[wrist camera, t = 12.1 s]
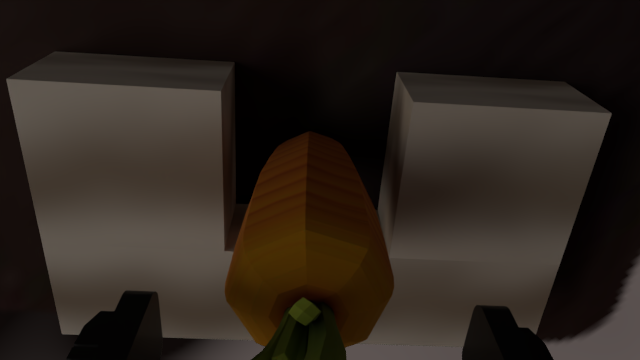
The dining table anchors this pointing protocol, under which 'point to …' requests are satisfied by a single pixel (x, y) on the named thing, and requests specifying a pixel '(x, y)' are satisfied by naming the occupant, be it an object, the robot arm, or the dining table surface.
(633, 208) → the dining table surface
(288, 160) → the carrot
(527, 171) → the notched board
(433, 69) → the dining table surface
